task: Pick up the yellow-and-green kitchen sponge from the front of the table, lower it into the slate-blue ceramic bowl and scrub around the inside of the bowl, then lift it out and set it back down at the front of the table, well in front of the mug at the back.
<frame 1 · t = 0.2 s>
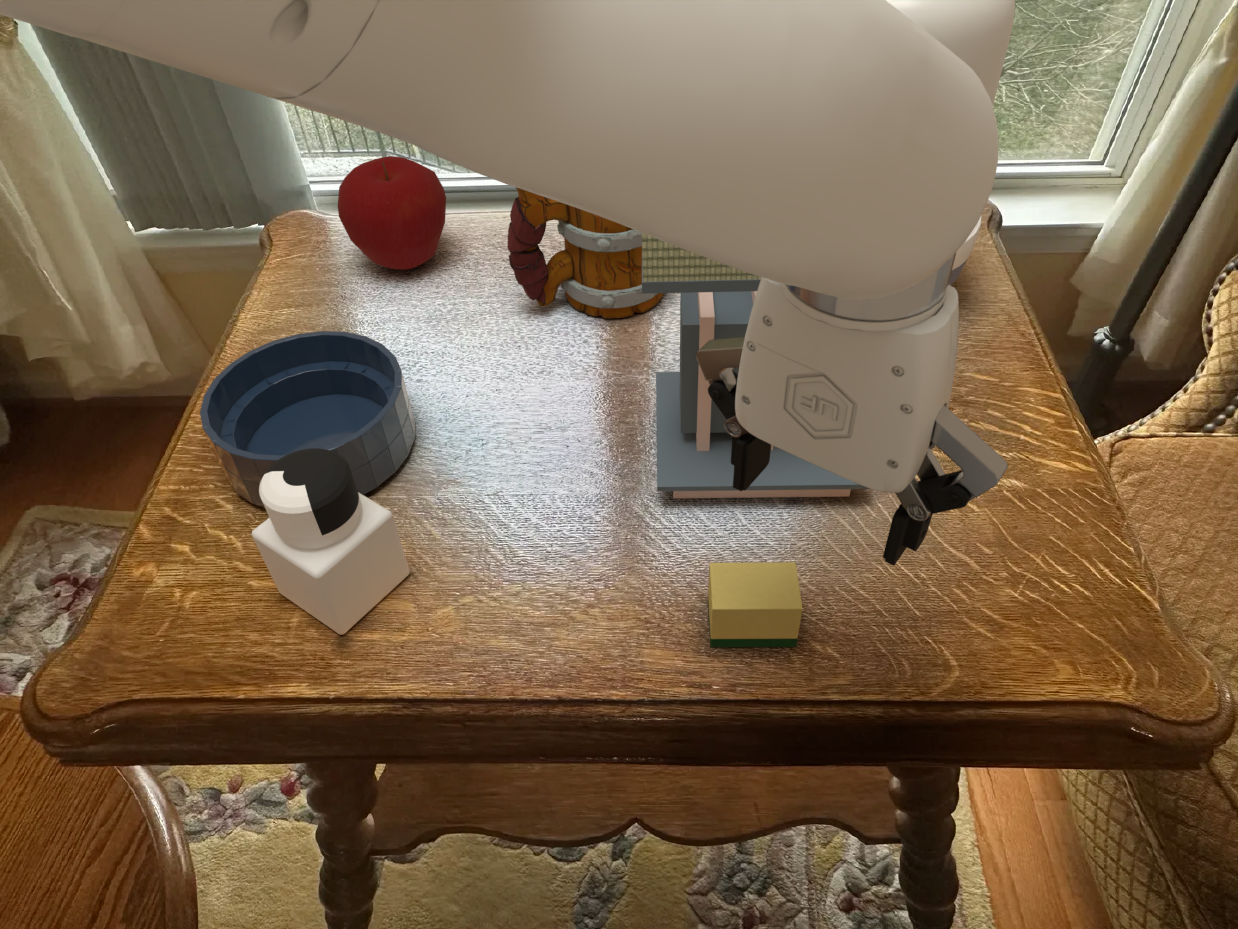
hand: (822, 510, 55), 15 cm above the table, tool pointing down, fingers open, 9 cm apart
bowl: (876, 295, 95), on the table
mug: (592, 297, 97), on the table
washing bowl: (322, 447, 82), on the table
apple: (406, 263, 103), on the table
sponge: (750, 623, 67), on the table
desk lamp: (754, 447, 80), on the table
medicine bottle: (346, 585, 71), on the table
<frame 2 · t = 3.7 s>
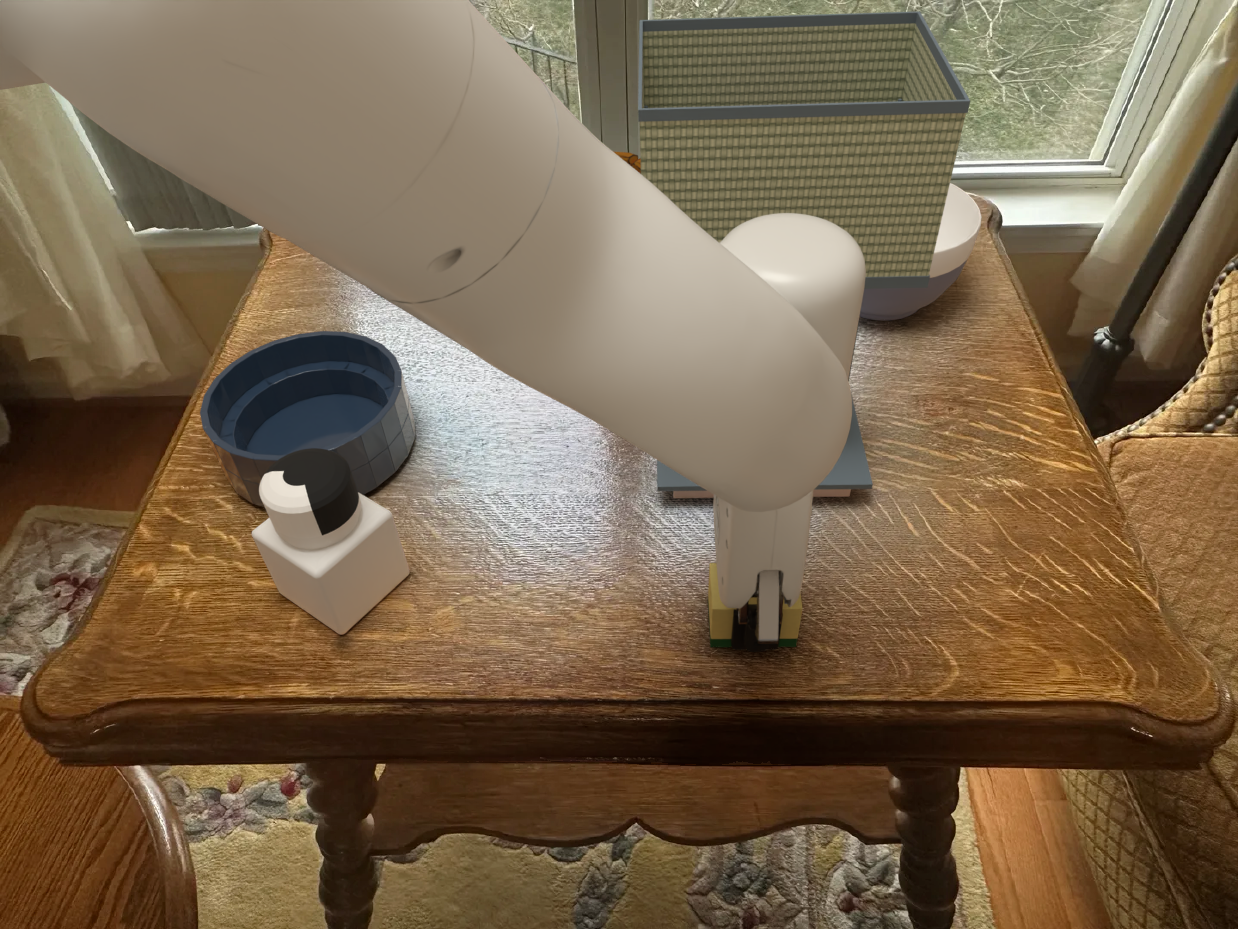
hand: (751, 616, 67), 1 cm above the table, tool pointing down, fingers closed on sponge, 4 cm apart
sponge: (750, 623, 67), on the table, touching gripper
everything else where it was.
when the fingers open (1 cm above the table, at t = 21.3 s): sponge stays where it is, on the table.
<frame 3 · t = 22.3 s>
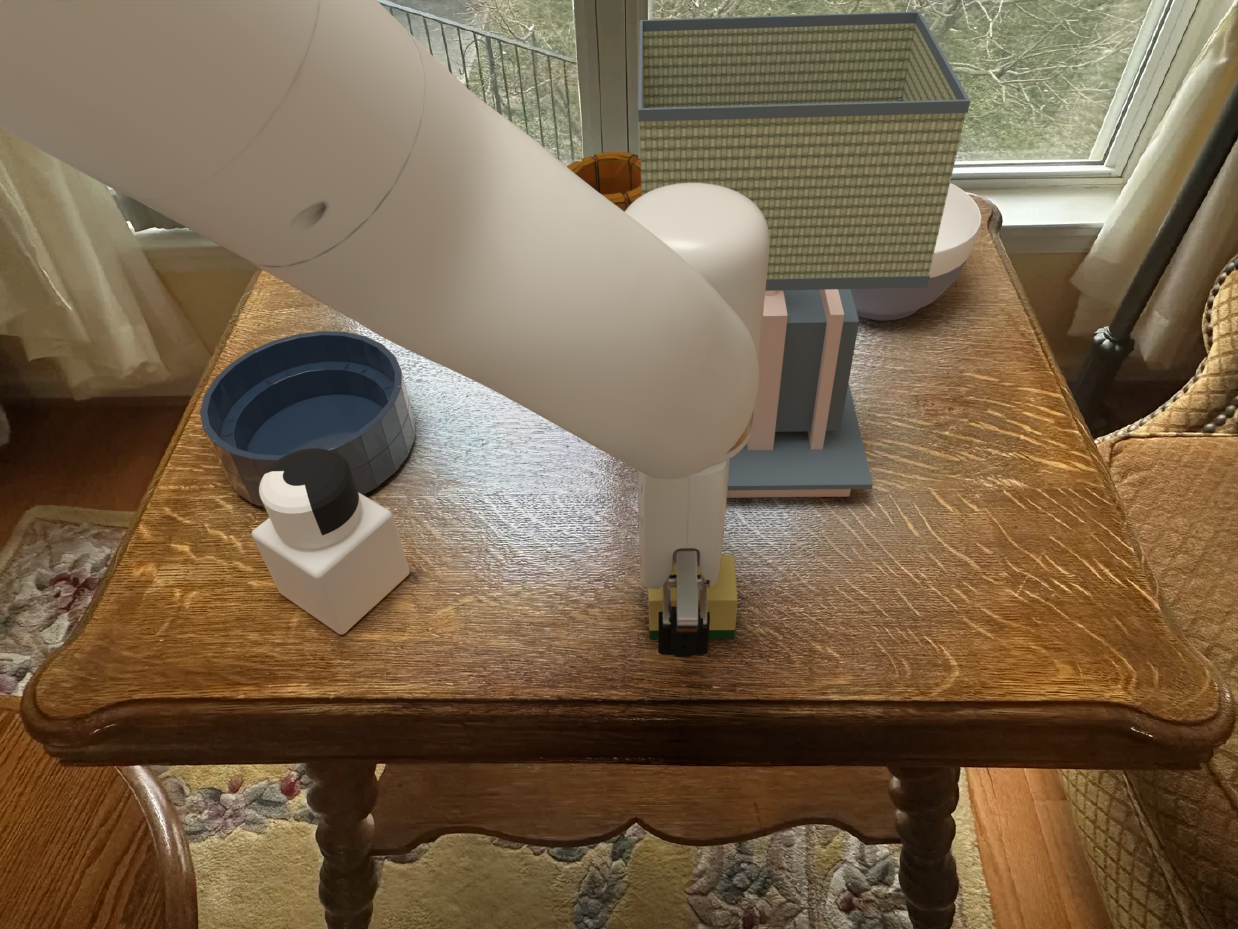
hand: (680, 592, 65), 3 cm above the table, tool pointing down, fingers open, 9 cm apart
sponge: (690, 615, 68), on the table
everything else where it was.
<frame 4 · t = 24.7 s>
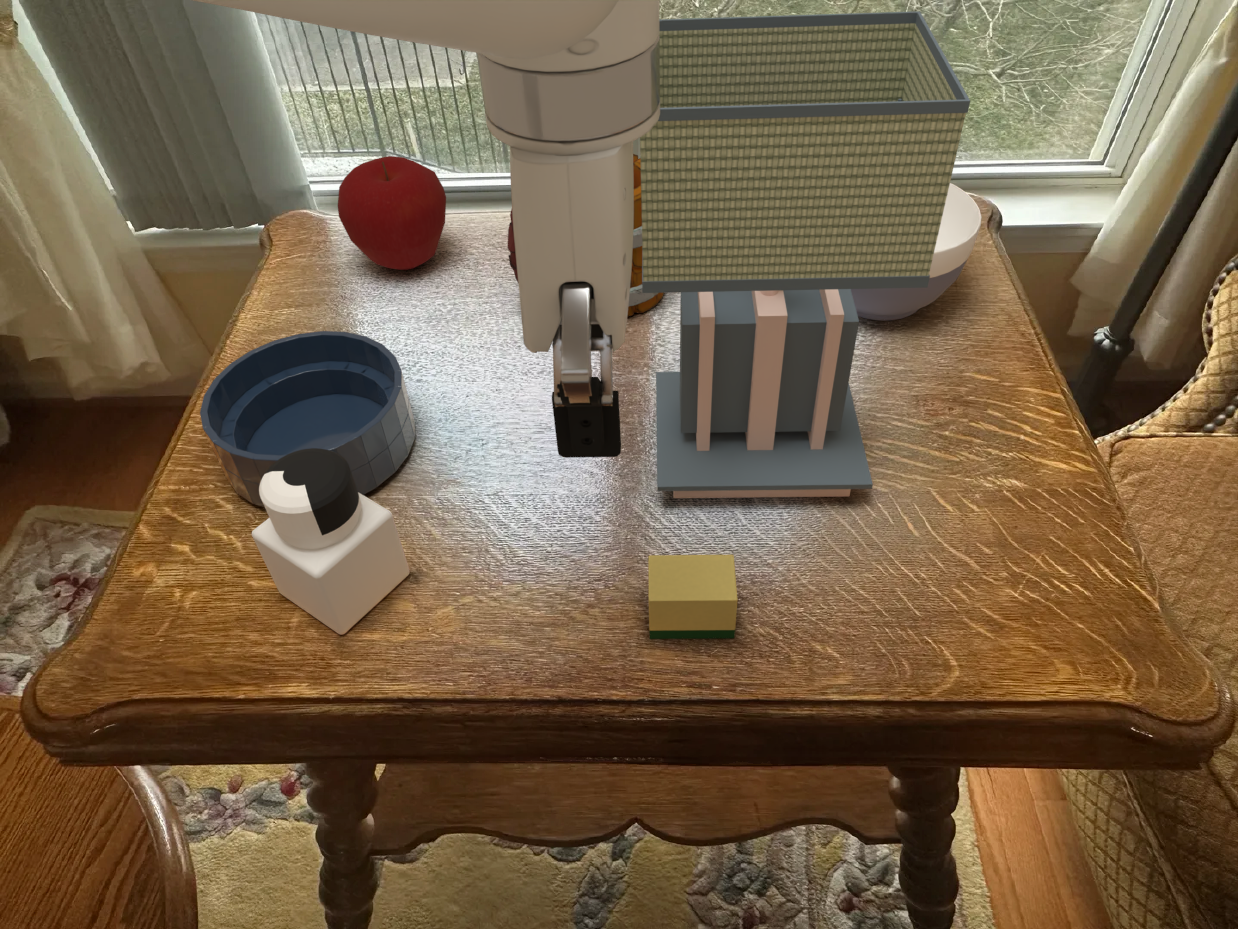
hand: (593, 391, 52), 22 cm above the table, tool pointing down, fingers open, 9 cm apart
nothing on the table moved.
at the end: sponge tilted 0° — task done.
